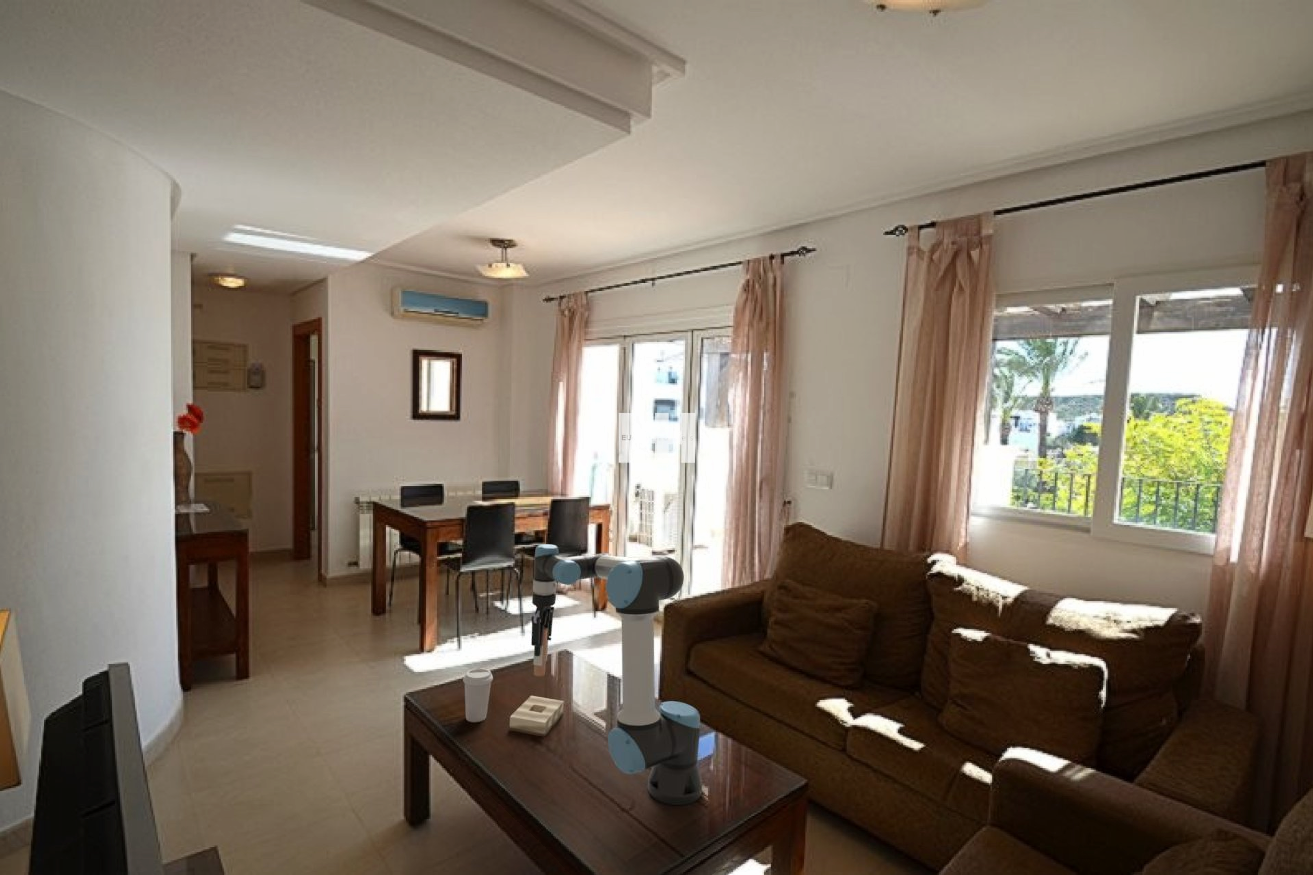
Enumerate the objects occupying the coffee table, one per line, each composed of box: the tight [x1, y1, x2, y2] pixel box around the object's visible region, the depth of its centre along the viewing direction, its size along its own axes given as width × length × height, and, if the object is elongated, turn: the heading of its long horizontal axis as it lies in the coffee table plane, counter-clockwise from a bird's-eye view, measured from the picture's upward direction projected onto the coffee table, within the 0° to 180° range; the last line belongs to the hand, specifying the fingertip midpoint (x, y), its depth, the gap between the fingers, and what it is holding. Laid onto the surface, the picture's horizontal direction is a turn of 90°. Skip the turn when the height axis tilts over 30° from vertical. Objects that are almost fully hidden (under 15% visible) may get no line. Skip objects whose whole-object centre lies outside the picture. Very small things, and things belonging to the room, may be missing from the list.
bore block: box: [509, 695, 565, 738], centre depth 207 cm, size 16×12×4 cm
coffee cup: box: [462, 667, 494, 723], centre depth 208 cm, size 10×10×15 cm
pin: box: [533, 628, 548, 677], centre depth 207 cm, size 4×4×15 cm
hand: (540, 662), depth 207 cm, fingers closed on pin, 3 cm apart
